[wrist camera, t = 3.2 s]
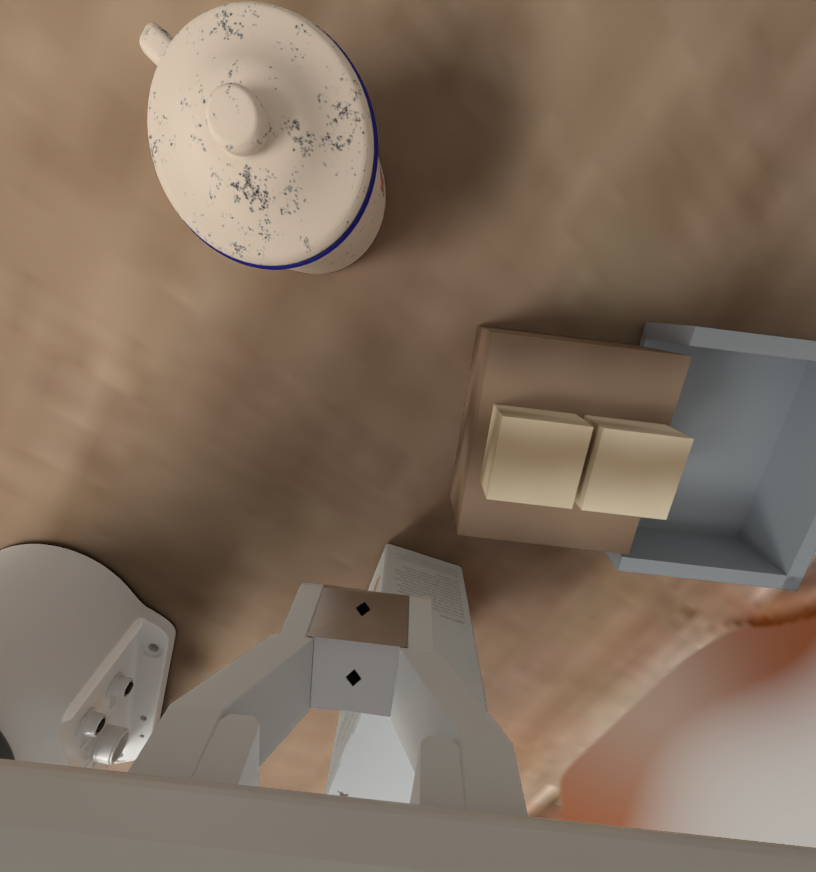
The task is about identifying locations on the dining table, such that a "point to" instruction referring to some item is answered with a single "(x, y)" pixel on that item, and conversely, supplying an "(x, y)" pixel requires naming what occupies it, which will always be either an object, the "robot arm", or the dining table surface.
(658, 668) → the dining table surface
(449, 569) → the small box
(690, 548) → the tray
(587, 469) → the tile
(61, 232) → the dining table surface
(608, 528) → the brown and beige block
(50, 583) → the robot arm
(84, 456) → the dining table surface
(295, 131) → the teacup with lid
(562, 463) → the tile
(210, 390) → the dining table surface
